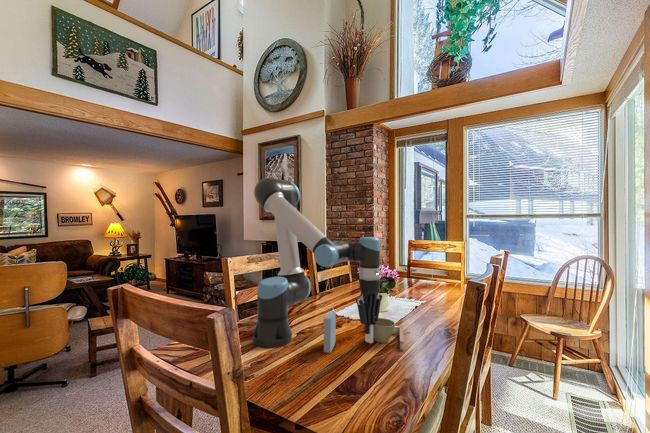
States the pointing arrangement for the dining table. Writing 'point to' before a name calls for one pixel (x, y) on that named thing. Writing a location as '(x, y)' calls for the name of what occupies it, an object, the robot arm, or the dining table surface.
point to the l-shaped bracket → (399, 331)
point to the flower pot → (383, 330)
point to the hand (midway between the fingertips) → (369, 341)
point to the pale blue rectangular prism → (329, 331)
